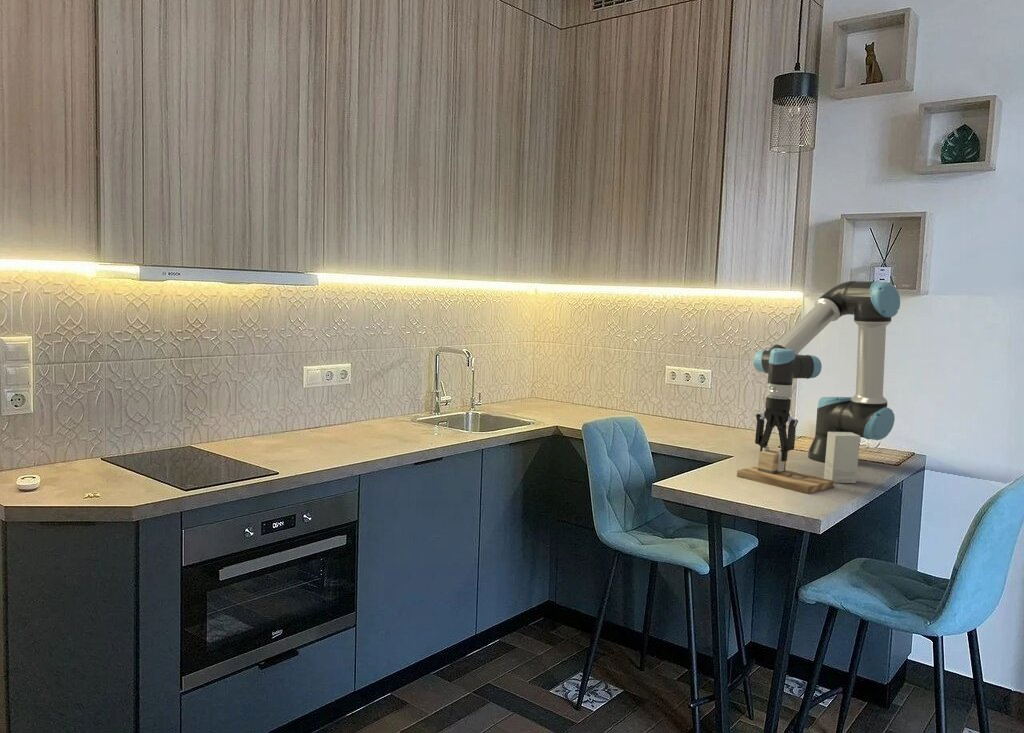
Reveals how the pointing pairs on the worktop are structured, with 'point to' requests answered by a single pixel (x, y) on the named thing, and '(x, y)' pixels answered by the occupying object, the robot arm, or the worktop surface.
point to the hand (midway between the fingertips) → (772, 468)
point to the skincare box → (842, 457)
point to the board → (787, 480)
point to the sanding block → (769, 461)
